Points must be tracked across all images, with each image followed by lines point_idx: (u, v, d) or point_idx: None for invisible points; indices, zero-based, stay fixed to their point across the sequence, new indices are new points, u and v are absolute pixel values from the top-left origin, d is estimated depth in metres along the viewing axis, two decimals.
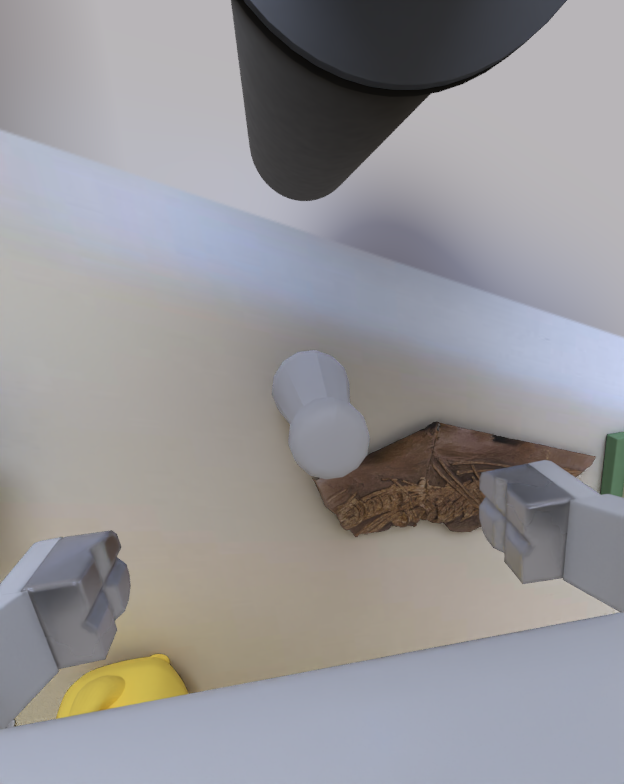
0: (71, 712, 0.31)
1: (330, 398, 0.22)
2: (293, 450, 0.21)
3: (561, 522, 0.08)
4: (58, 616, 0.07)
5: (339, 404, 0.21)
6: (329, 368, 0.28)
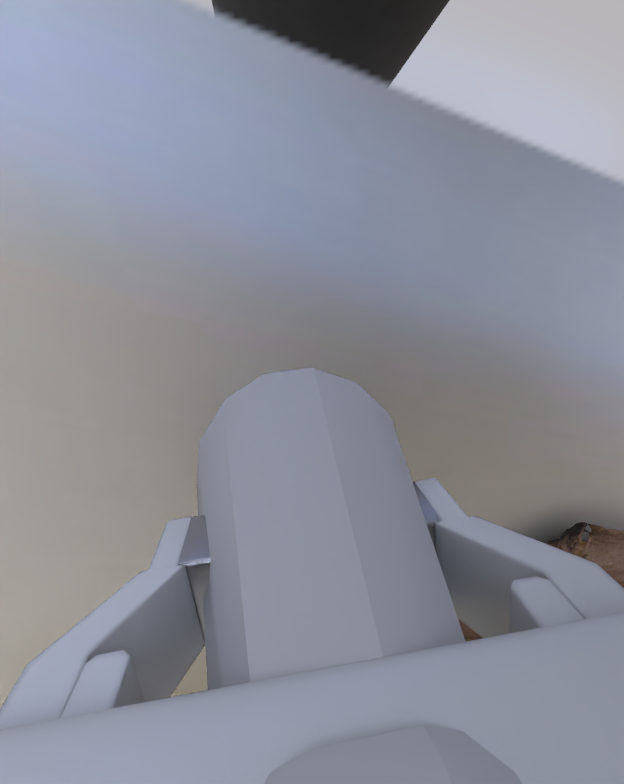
0: None
1: None
2: None
3: None
4: None
5: None
6: (356, 429, 0.09)
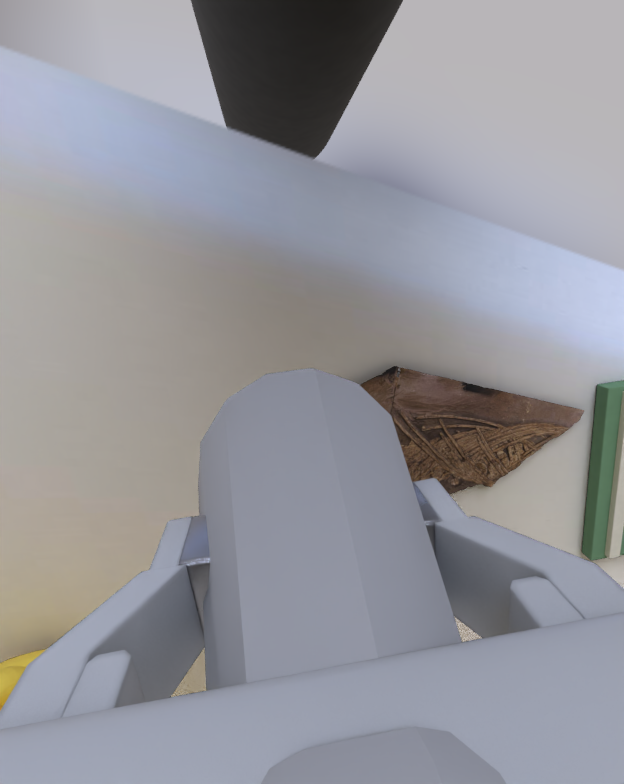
0: None
1: None
2: None
3: None
4: None
5: None
6: (357, 430, 0.09)
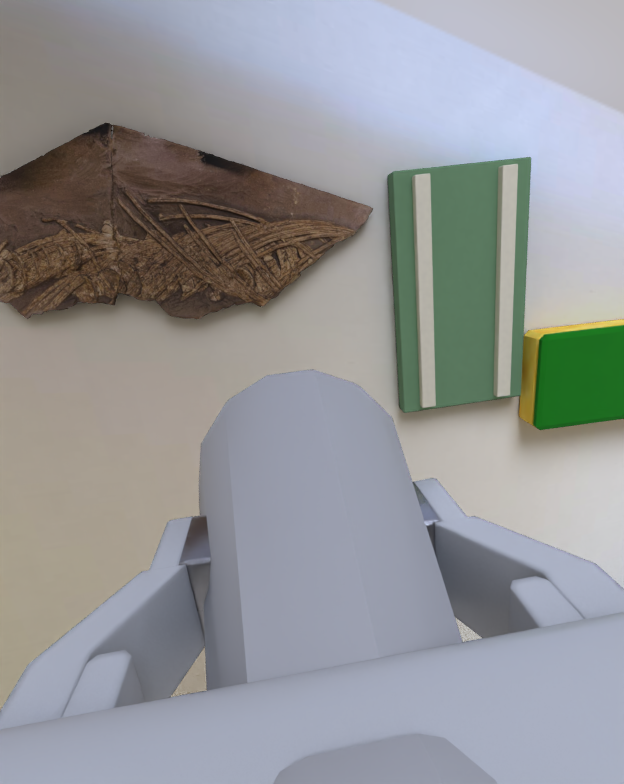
0: None
1: None
2: None
3: None
4: None
5: None
6: (357, 432, 0.09)
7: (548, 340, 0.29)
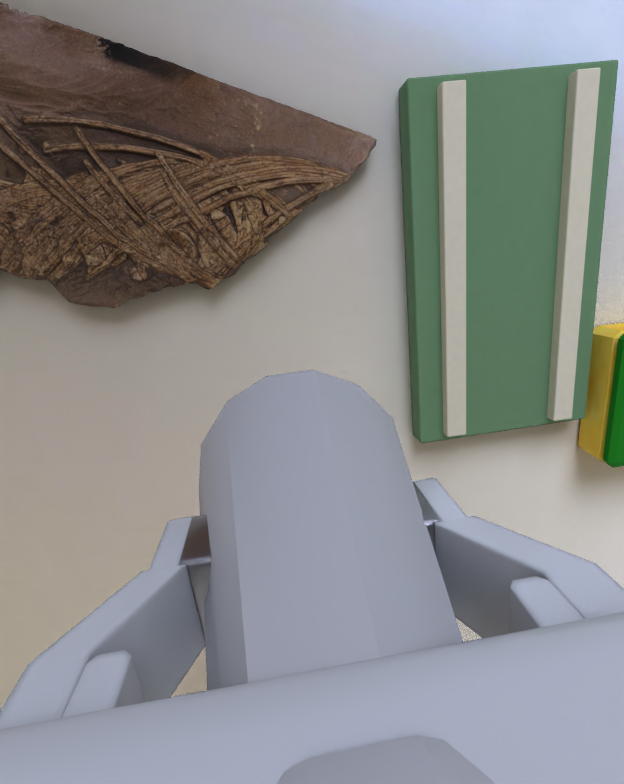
0: None
1: None
2: None
3: None
4: None
5: None
6: (358, 433, 0.09)
7: None
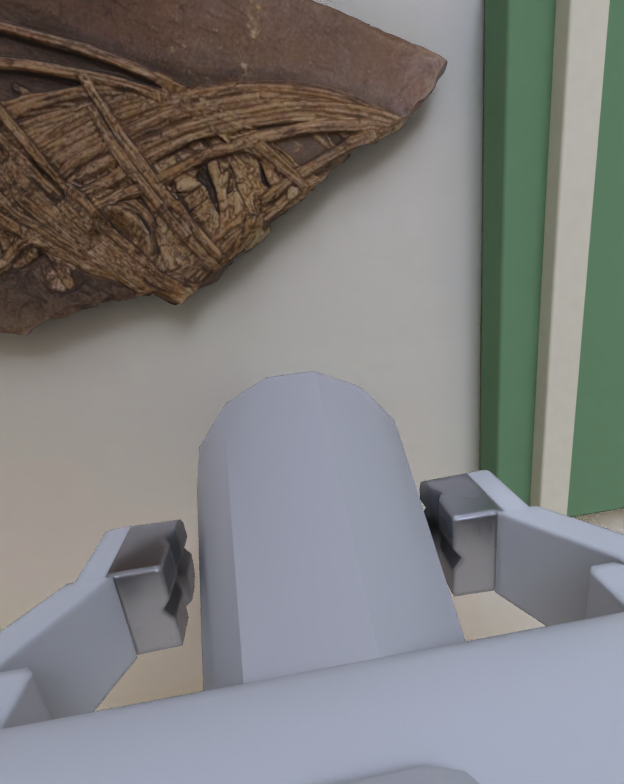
0: None
1: None
2: None
3: (489, 534, 0.08)
4: (140, 602, 0.07)
5: None
6: (359, 435, 0.09)
7: None
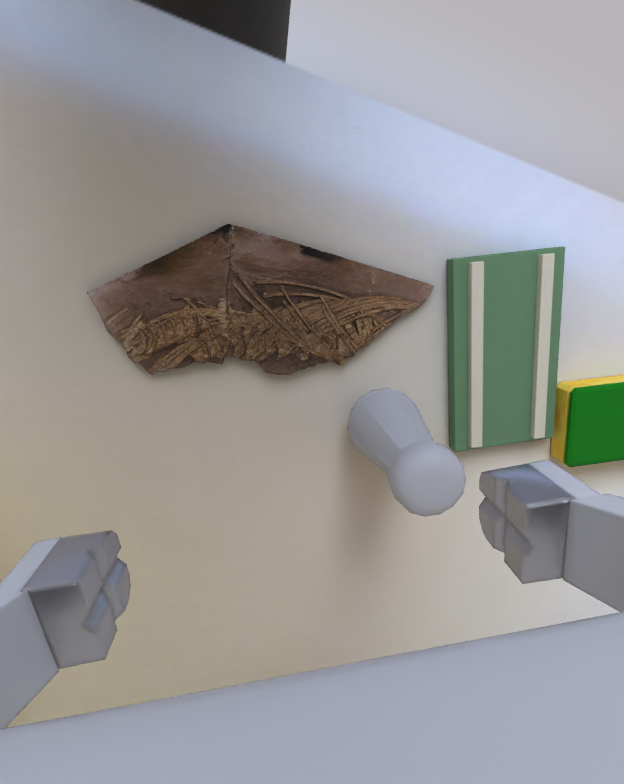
0: None
1: (429, 442, 0.24)
2: (397, 491, 0.24)
3: (560, 522, 0.08)
4: (58, 616, 0.07)
5: (439, 448, 0.24)
6: (408, 407, 0.30)
7: (578, 393, 0.34)
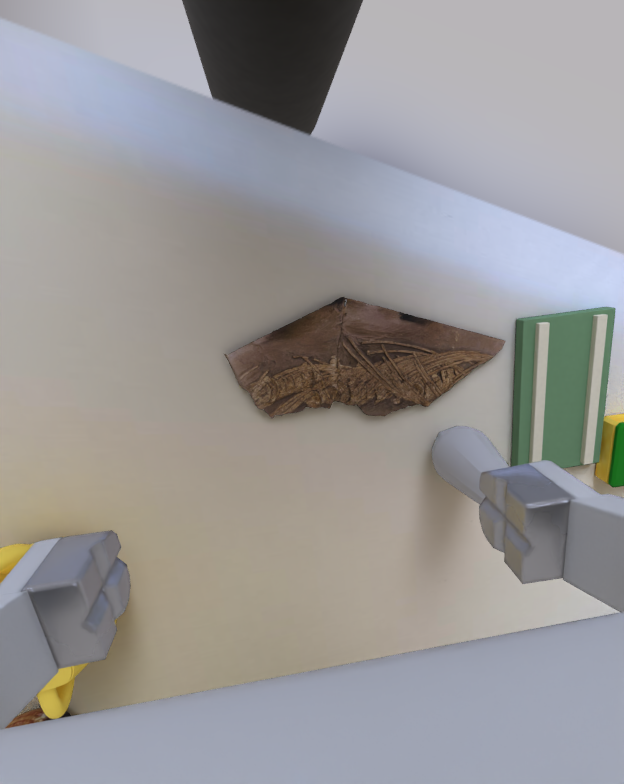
0: None
1: None
2: None
3: (560, 521, 0.08)
4: (58, 616, 0.07)
5: None
6: (488, 445, 0.37)
7: (622, 427, 0.41)
